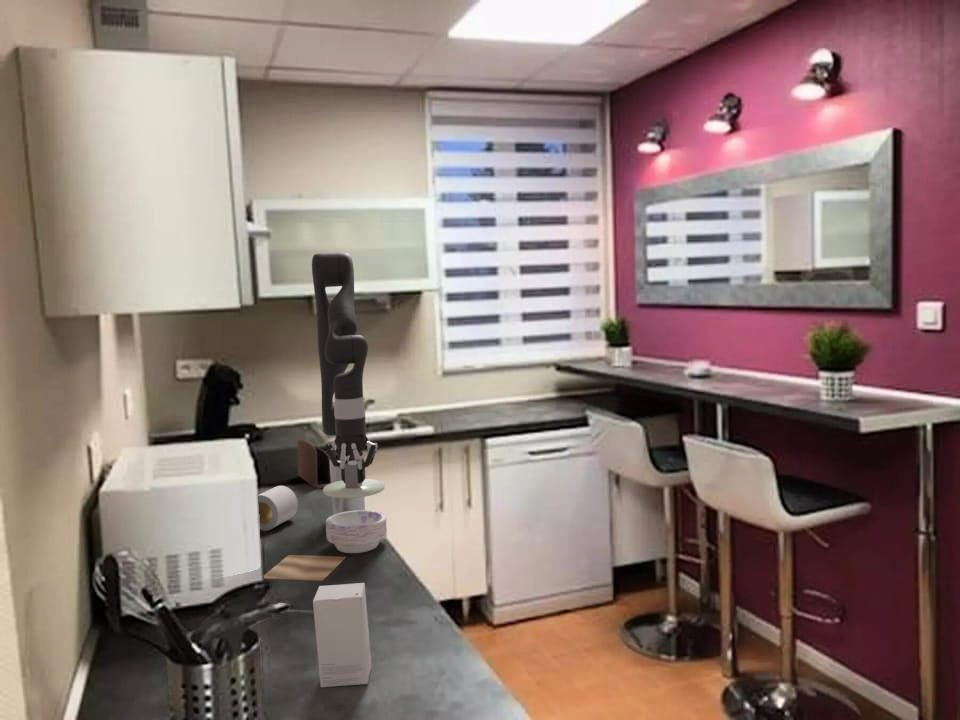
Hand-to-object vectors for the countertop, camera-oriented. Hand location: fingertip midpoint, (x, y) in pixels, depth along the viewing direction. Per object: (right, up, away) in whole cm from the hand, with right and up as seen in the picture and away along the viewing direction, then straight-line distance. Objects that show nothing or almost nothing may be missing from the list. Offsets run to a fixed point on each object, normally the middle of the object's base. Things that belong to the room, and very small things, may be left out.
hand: (353, 482), depth 198 cm
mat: (-10, -19, -12) cm, 24 cm away
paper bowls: (+1, -17, +2) cm, 17 cm away
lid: (0, -2, 0) cm, 2 cm away
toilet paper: (-26, -16, +23) cm, 38 cm away
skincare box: (+9, -24, -64) cm, 68 cm away
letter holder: (-23, -11, +71) cm, 76 cm away
